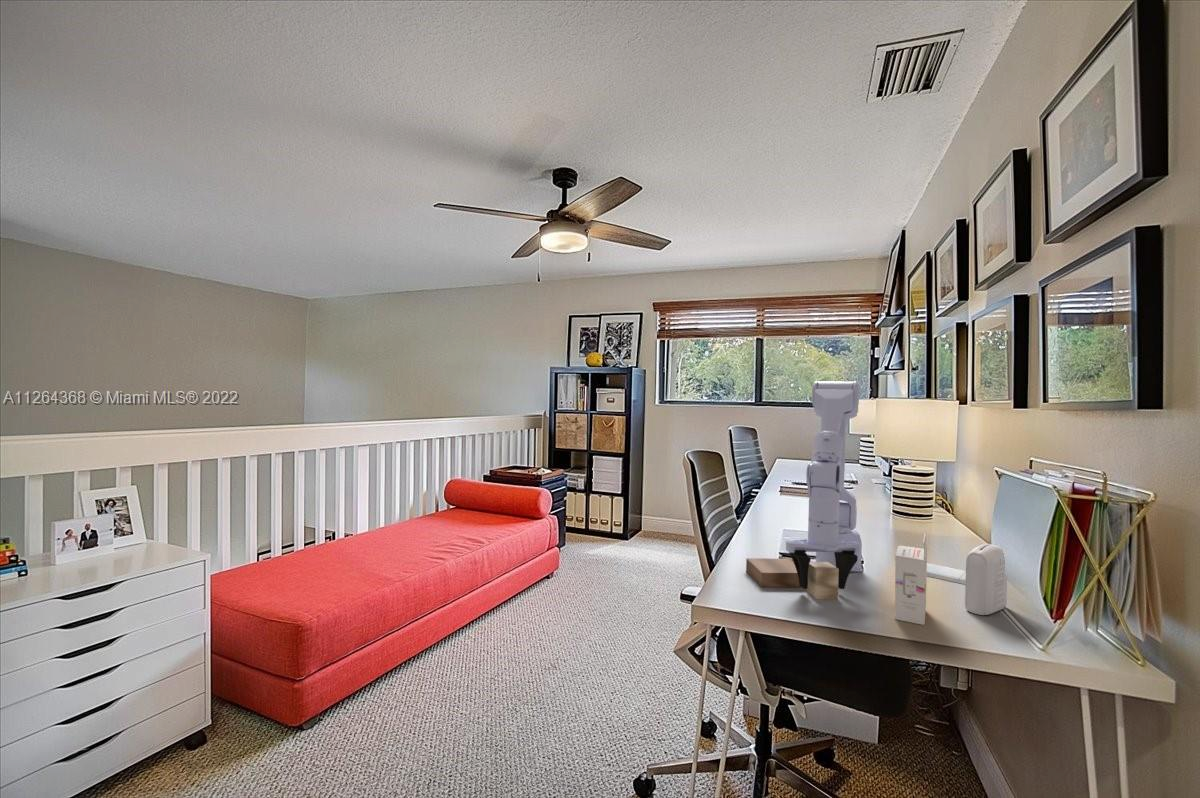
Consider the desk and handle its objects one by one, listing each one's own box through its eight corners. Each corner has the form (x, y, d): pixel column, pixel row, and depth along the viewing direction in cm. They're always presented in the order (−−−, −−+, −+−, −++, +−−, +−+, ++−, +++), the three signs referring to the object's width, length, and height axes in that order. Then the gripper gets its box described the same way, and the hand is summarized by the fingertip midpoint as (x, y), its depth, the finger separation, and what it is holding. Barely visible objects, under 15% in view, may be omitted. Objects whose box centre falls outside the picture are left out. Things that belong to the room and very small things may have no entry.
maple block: (827, 590, 111) (827, 561, 111) (837, 599, 106) (838, 568, 106) (805, 590, 111) (806, 561, 111) (815, 598, 106) (816, 568, 106)
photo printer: (984, 600, 107) (986, 538, 107) (1010, 607, 104) (1011, 544, 104) (961, 610, 102) (962, 545, 102) (987, 618, 98) (988, 551, 98)
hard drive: (902, 566, 125) (965, 579, 117) (911, 559, 131) (972, 571, 123) (902, 573, 125) (965, 586, 117) (911, 565, 131) (972, 578, 123)
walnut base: (789, 571, 122) (789, 558, 122) (808, 587, 112) (808, 573, 112) (746, 571, 122) (746, 558, 122) (761, 586, 112) (761, 572, 112)
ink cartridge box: (896, 604, 104) (897, 529, 104) (925, 610, 101) (927, 533, 101) (893, 619, 97) (895, 538, 97) (925, 626, 94) (927, 542, 94)
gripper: (796, 524, 104) (794, 594, 104) (869, 525, 105) (867, 594, 105) (782, 516, 111) (780, 581, 111) (850, 517, 112) (849, 582, 112)
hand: (821, 587), depth 108 cm, fingers open, 7 cm apart
